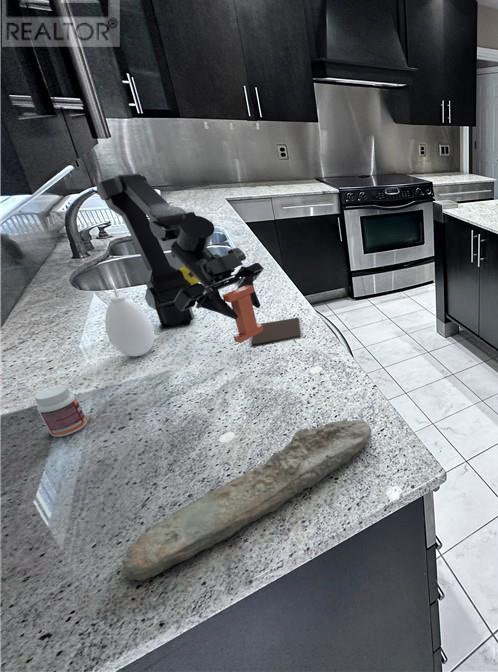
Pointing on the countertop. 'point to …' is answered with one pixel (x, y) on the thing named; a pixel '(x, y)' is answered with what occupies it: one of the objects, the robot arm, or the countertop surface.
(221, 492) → the long grey stone
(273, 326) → the dark brown square tile
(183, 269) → the lemon
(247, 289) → the letter I
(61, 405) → the pill bottle
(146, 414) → the countertop surface
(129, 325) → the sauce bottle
